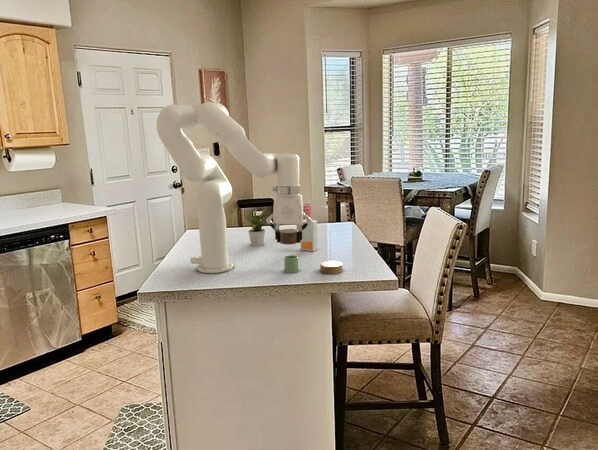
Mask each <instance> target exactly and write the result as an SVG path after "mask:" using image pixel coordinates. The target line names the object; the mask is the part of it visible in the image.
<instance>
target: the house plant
mask: <svg viewBox="0 0 598 450" xmlns="http://www.w3.org/2000/svg"><path fill="white" fill-rule="evenodd" d="M266 210H267V209H266V208H265V209H264V208H263V209H261V210H260V211H259V212H258V214H257V206H256V207H255V210H254V211H253V214H252V212H249V213H248V211H247V212H246V211H245V212H244V215H245V216H246V218H247V219H248V220H249V222H250V224H249V223H248V222H243V223H242V225H243V226H244V227H245V226H246V225H247V226H249V227H250V228H251V229H248V231H247V232H248V236H249V240H250V246H252V247H261V246H263V245H264V243H265V235H266V230H265V229H264V228H263V227H264V226H266V227H268V225H269V224H268V223H267V222H266V219H267V218H265V219H263V217H265V215H267V214H268V213H270V211H268V212H267V213H266V214H265V212H266ZM240 213H241V214H242V212H241V211H239V214H240Z"/></svg>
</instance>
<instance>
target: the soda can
mask: <svg viewBox="0 0 598 450" xmlns="http://www.w3.org/2000/svg"><path fill="white" fill-rule="evenodd" d="M303 212H304V213H305V214H306V215H307V216H308V217H309V218H311V219H312V206H311V204H310V203H303ZM303 220H306V219H304V218H303ZM296 230H298V231H299V229H298V227H297V226H296Z"/></svg>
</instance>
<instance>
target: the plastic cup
mask: <svg viewBox="0 0 598 450" xmlns="http://www.w3.org/2000/svg"><path fill="white" fill-rule="evenodd" d="M283 268H284V270H283V271H284V272H285V273H287V274H295V273H298V272H299V256H298V255H293V254H291V255H285V256H284V257H283Z"/></svg>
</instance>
